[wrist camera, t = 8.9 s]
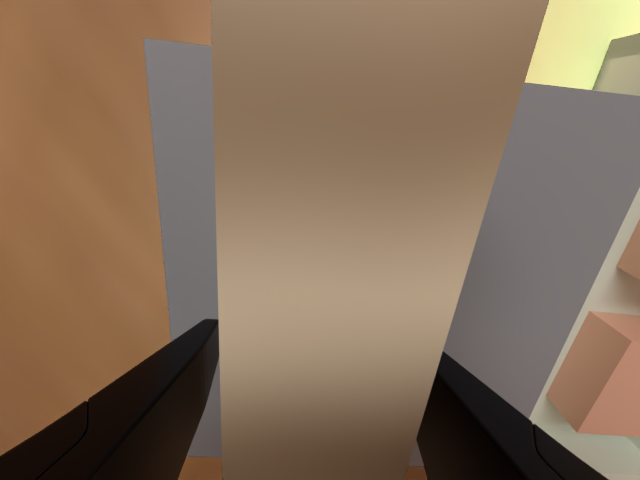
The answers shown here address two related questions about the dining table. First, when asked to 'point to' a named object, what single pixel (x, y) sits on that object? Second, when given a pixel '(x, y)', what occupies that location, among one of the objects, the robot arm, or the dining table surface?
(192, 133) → the board
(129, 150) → the dining table surface
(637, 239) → the tile near
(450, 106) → the strip
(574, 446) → the tray
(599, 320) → the tile far
